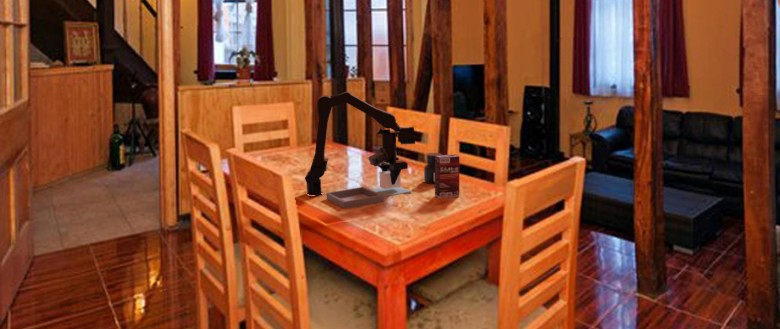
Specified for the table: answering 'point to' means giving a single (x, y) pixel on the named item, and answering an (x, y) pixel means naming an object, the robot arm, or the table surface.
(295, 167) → the table surface
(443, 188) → the supplement box
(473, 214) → the table surface
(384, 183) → the block
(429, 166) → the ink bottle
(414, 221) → the table surface
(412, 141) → the robot arm
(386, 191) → the mat
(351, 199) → the grey square tray
